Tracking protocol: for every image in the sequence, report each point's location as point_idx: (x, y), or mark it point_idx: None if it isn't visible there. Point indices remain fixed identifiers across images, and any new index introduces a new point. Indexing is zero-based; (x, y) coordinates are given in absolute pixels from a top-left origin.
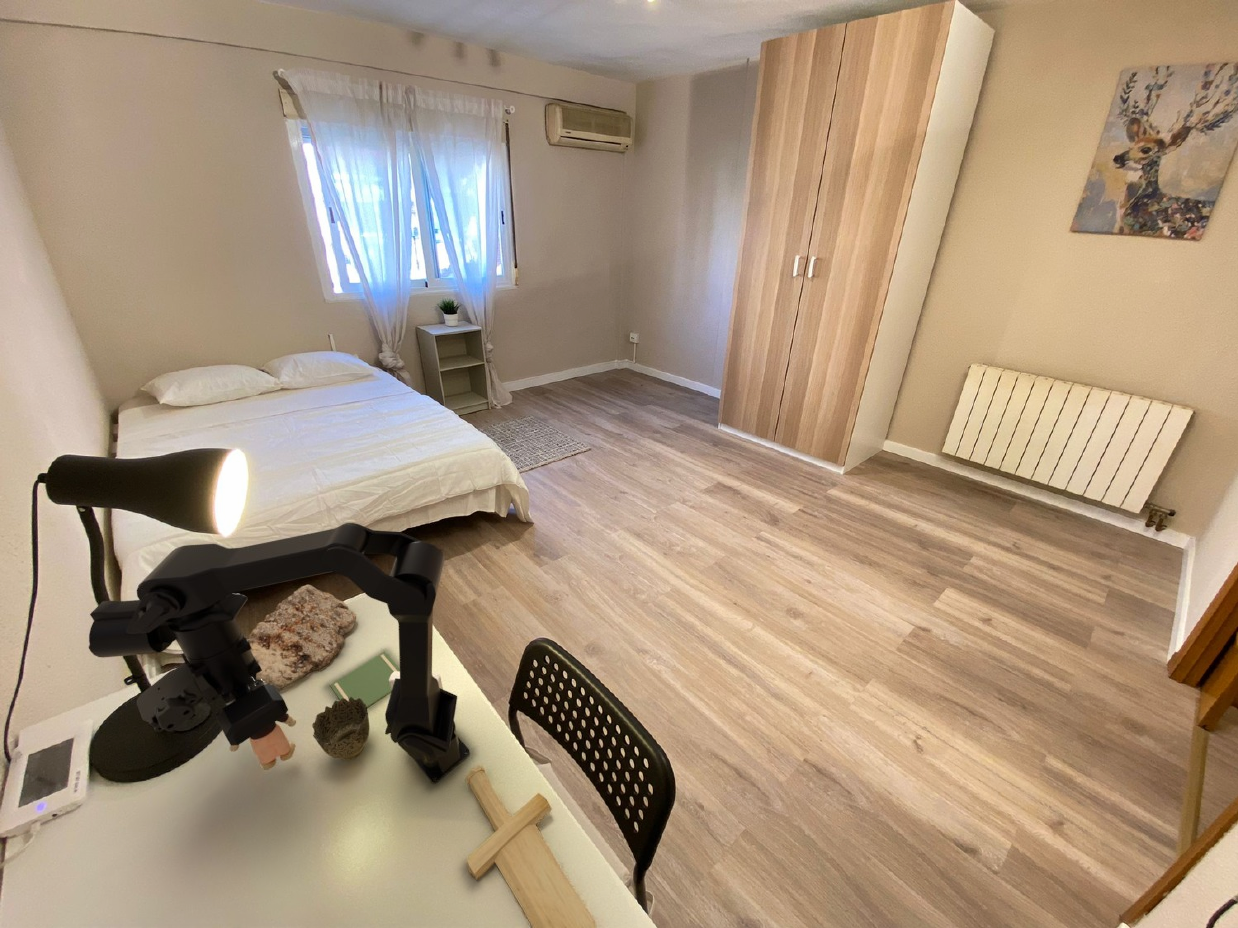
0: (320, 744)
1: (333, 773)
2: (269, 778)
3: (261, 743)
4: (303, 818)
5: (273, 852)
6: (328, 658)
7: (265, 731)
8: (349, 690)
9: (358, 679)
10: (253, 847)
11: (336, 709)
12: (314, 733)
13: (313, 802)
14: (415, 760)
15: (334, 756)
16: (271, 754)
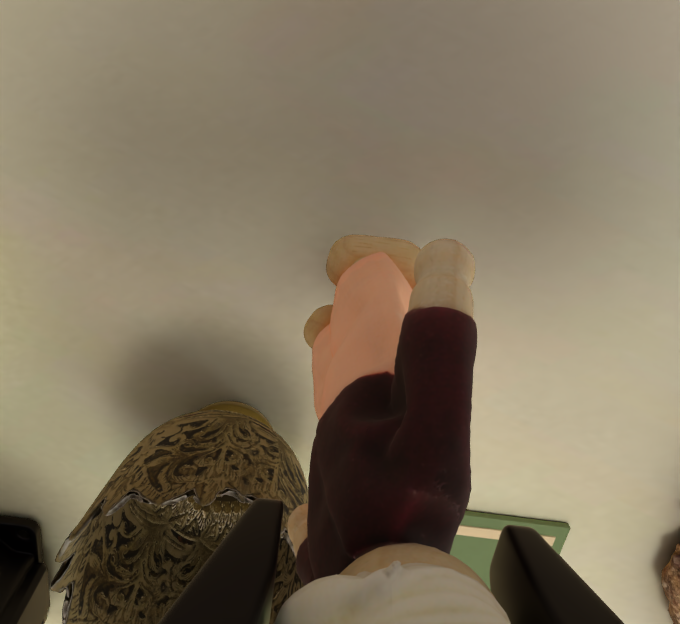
0: (165, 473)
1: (199, 350)
2: (399, 201)
3: (349, 362)
4: (109, 195)
5: (58, 50)
6: (672, 598)
7: (313, 466)
8: (474, 548)
9: (487, 584)
10: (146, 7)
11: (303, 584)
12: (237, 495)
13: (144, 250)
14: (2, 521)
15: (160, 429)
16: (333, 317)
